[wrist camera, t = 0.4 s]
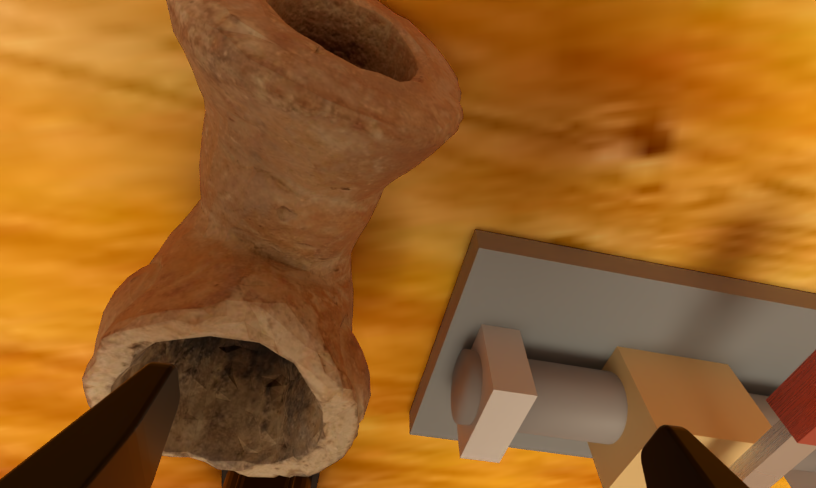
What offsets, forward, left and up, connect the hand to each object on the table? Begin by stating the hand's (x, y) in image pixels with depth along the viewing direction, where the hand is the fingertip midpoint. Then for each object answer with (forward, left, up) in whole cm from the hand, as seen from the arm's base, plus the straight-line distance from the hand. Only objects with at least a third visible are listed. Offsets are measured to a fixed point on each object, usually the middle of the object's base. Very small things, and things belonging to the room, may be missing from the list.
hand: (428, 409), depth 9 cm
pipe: (-3, +4, -14) cm, 15 cm away
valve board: (-11, -16, -14) cm, 24 cm away
